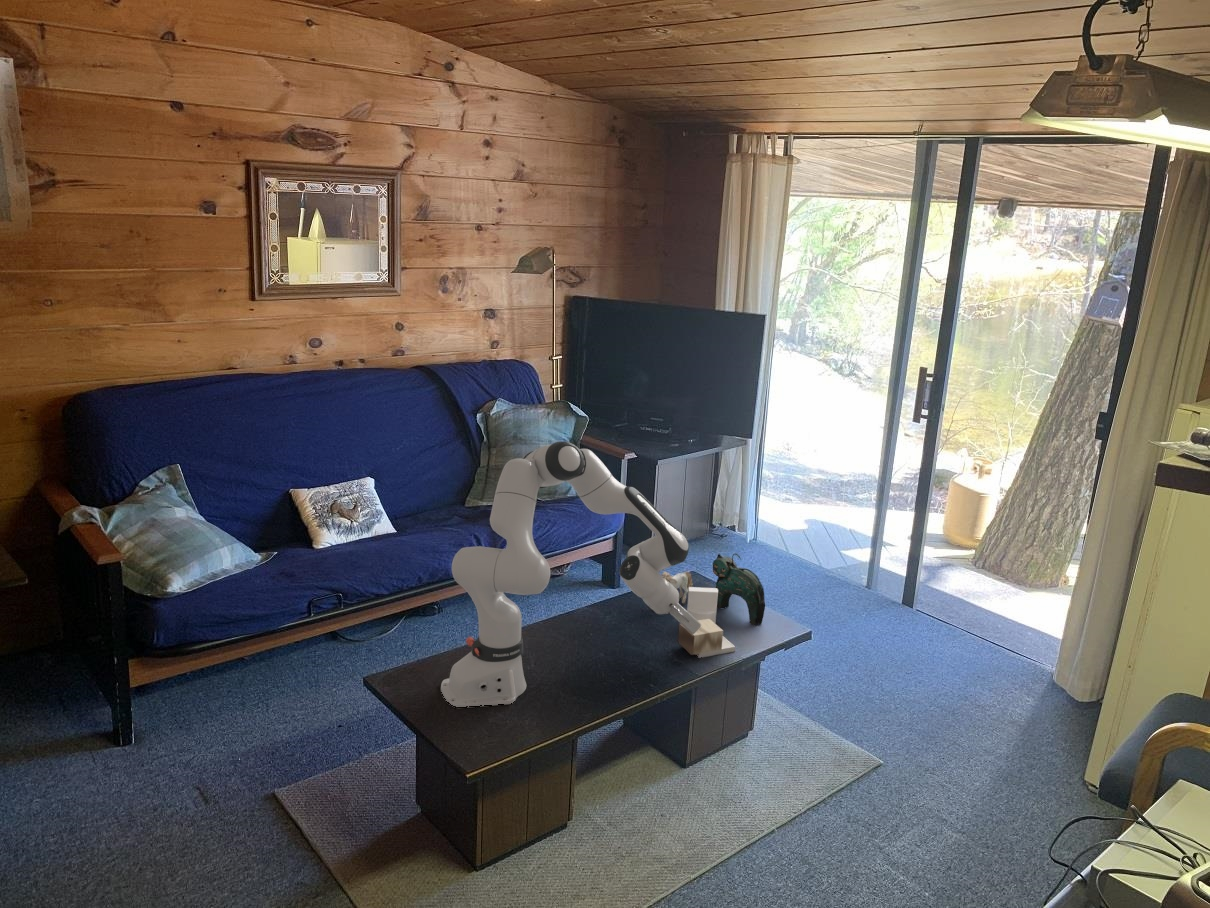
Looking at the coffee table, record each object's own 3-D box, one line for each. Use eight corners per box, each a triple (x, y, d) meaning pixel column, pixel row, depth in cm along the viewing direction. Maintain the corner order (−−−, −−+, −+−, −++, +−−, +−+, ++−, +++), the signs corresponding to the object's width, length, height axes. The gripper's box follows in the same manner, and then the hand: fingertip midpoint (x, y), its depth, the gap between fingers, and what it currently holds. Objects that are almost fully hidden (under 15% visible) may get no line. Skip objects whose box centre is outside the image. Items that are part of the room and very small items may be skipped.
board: (698, 658, 275) (699, 653, 274) (679, 639, 285) (679, 634, 285) (734, 651, 280) (735, 646, 279) (714, 633, 290) (714, 628, 290)
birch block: (692, 635, 272) (723, 630, 276) (679, 623, 279) (709, 618, 283) (691, 654, 273) (721, 649, 277) (678, 642, 280) (707, 637, 284)
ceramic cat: (707, 605, 309) (712, 547, 303) (721, 600, 313) (726, 543, 307) (754, 628, 294) (759, 568, 289) (768, 622, 298) (773, 563, 293)
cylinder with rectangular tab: (714, 619, 299) (716, 584, 296) (716, 632, 290) (719, 596, 287) (685, 618, 299) (687, 582, 296) (686, 631, 291) (689, 595, 287)
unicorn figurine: (647, 614, 301) (649, 575, 297) (674, 592, 317) (676, 555, 313) (667, 620, 297) (670, 580, 294) (694, 598, 314) (697, 560, 310)
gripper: (688, 605, 260) (716, 632, 267) (654, 575, 278) (682, 601, 284) (672, 622, 259) (701, 649, 266) (639, 591, 277) (667, 617, 284)
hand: (691, 624), depth 275 cm, fingers closed
